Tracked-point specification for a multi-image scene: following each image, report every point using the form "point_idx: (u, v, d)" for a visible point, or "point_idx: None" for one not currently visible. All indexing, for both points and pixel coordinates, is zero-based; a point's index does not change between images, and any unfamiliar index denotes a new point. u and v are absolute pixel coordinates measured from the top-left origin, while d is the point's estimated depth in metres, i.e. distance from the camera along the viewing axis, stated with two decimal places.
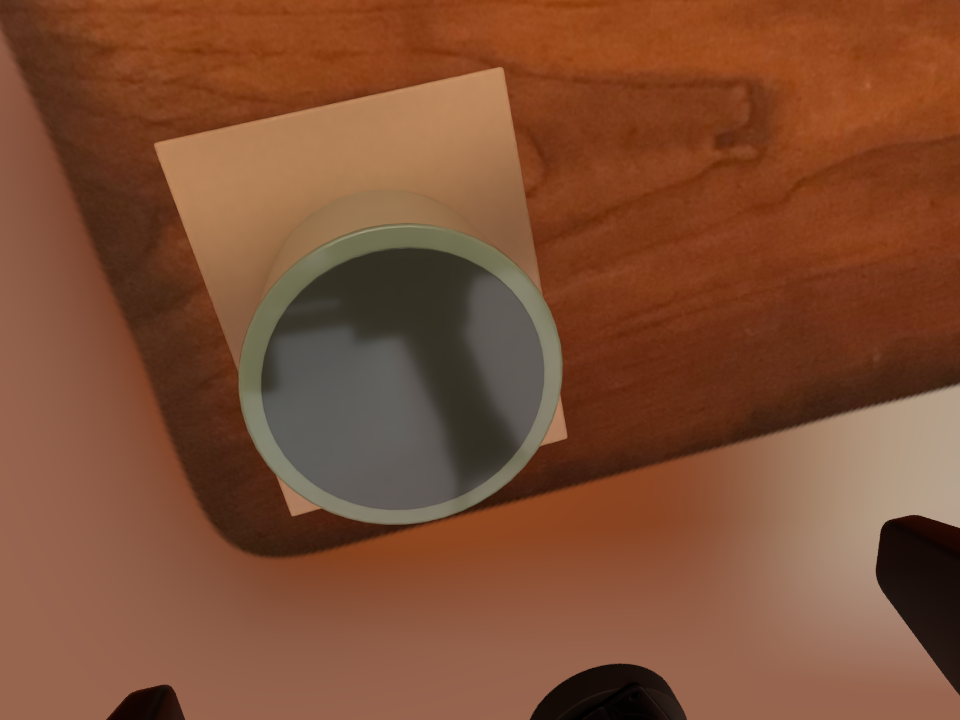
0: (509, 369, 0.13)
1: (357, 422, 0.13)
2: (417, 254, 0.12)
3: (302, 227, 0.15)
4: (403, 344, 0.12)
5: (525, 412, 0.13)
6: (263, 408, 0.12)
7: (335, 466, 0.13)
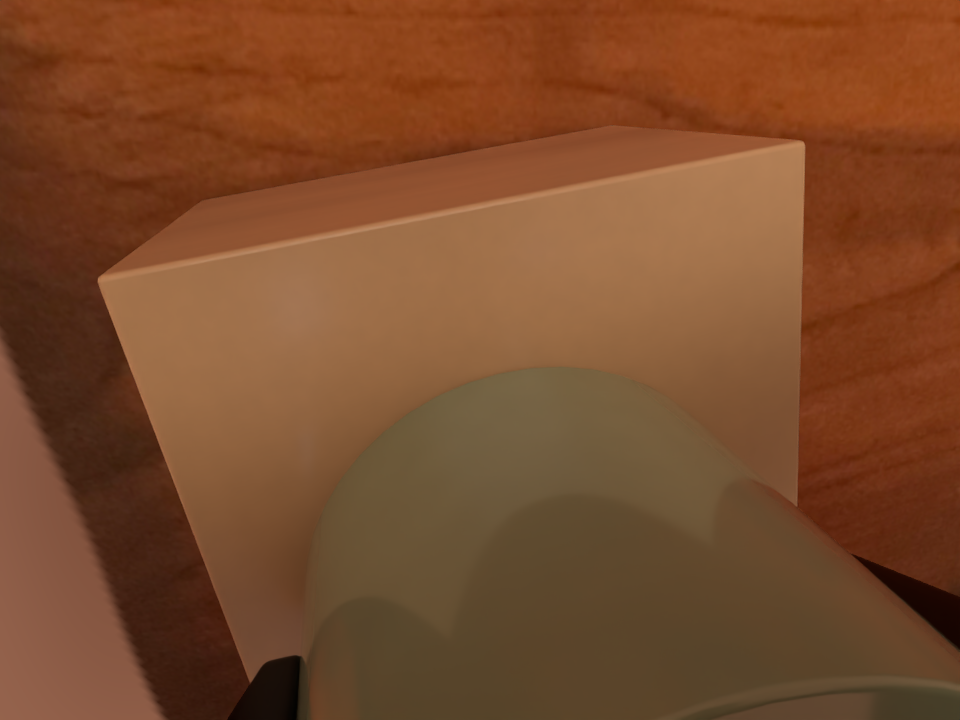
0: None
1: None
2: None
3: (405, 468, 0.07)
4: None
5: None
6: None
7: None
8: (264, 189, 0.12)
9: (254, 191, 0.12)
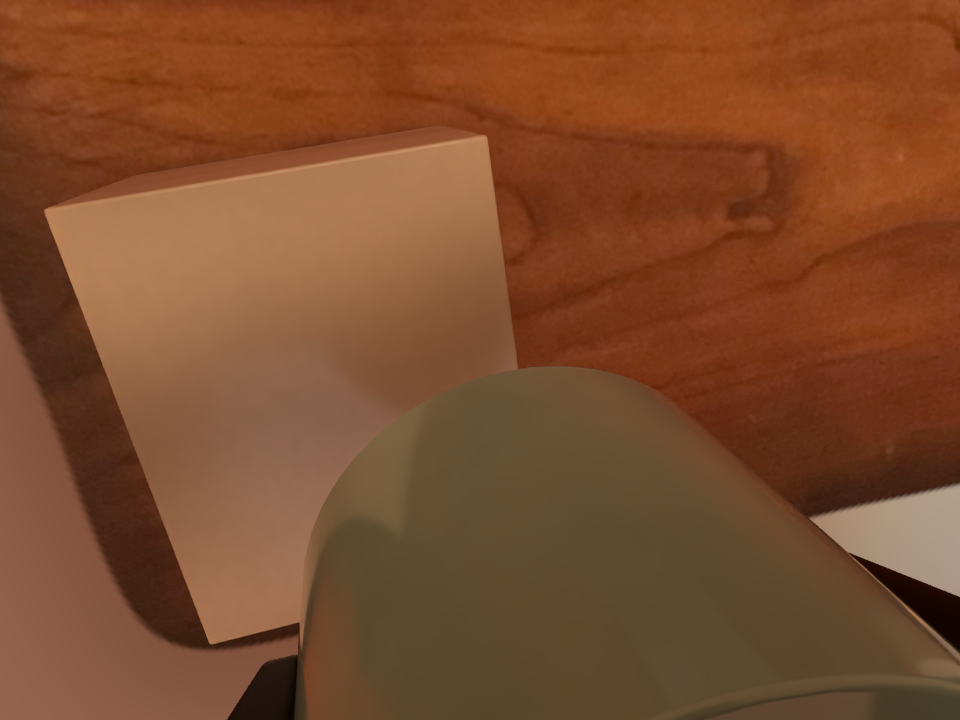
0: None
1: None
2: None
3: (403, 467, 0.07)
4: None
5: None
6: None
7: None
8: None
9: (173, 169, 0.17)
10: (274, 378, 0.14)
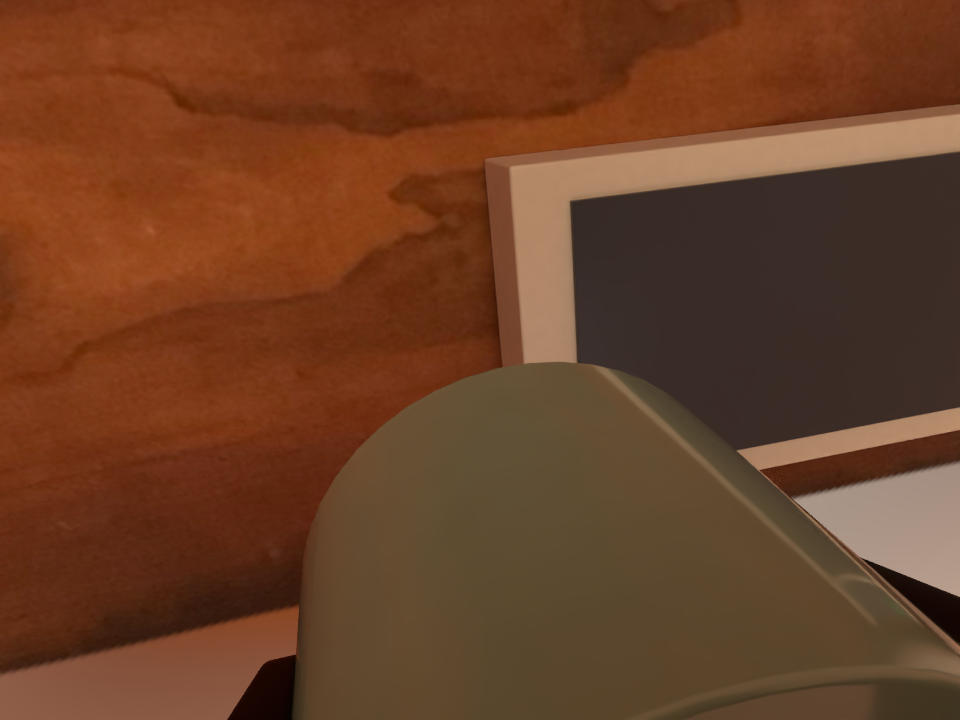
0: None
1: None
2: None
3: (401, 462, 0.07)
4: None
5: None
6: None
7: None
8: None
9: None
10: None
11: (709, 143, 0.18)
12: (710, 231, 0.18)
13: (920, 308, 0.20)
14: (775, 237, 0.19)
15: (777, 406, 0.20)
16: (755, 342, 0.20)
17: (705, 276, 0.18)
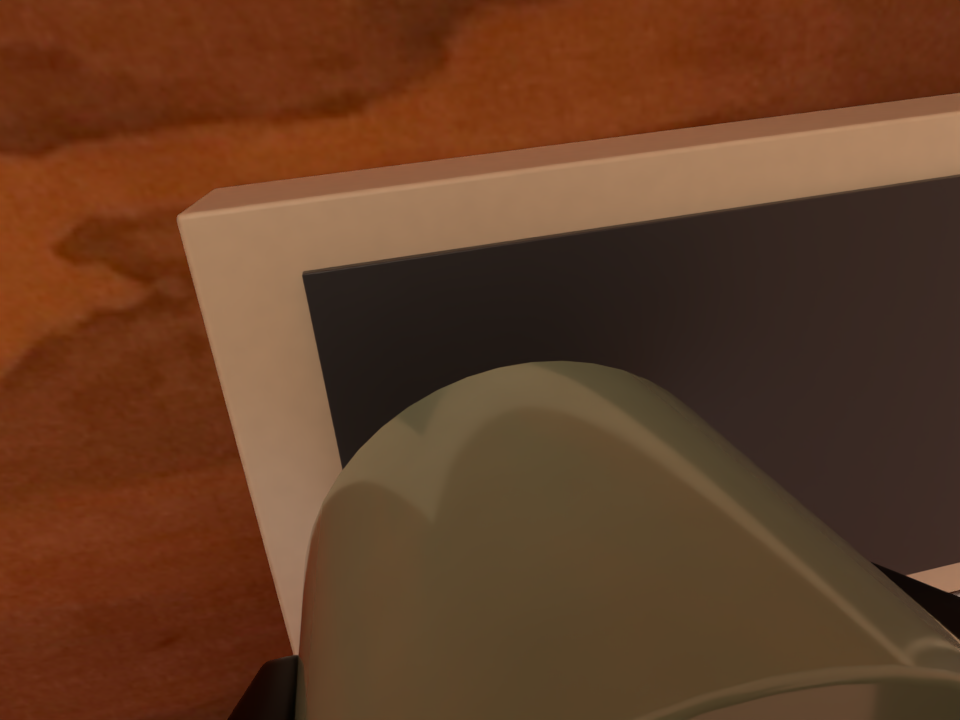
0: None
1: None
2: None
3: (404, 461, 0.07)
4: None
5: None
6: None
7: None
8: None
9: None
10: None
11: (554, 165, 0.10)
12: (565, 315, 0.11)
13: (928, 418, 0.13)
14: (681, 320, 0.11)
15: None
16: None
17: None
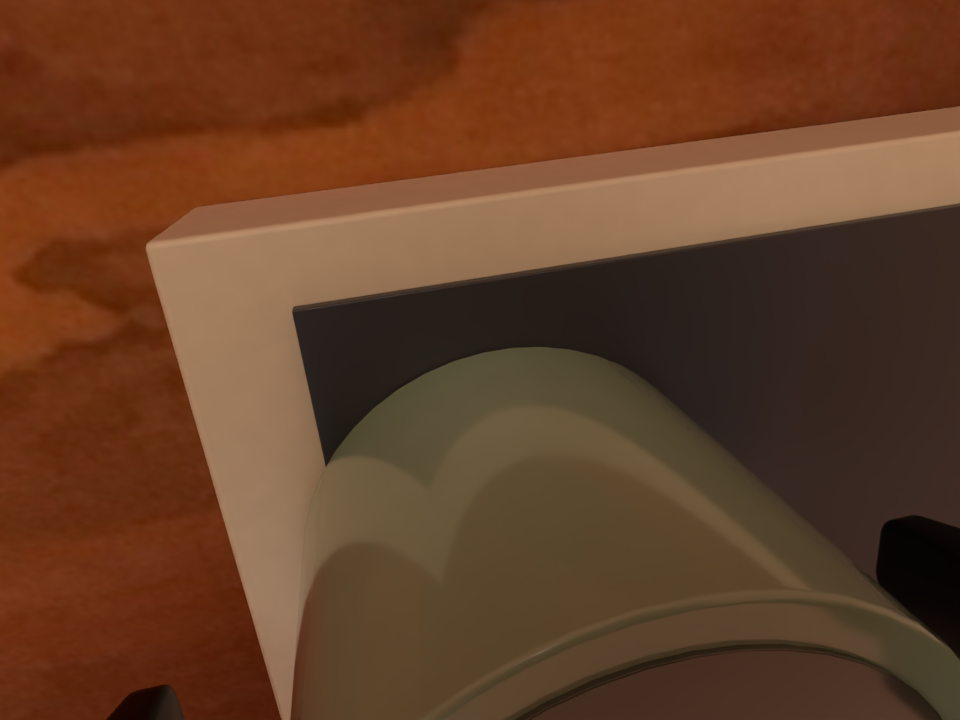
0: None
1: None
2: (752, 659, 0.05)
3: (394, 435, 0.08)
4: None
5: None
6: None
7: None
8: None
9: None
10: None
11: (582, 183, 0.09)
12: (593, 353, 0.09)
13: None
14: (724, 357, 0.10)
15: None
16: None
17: None
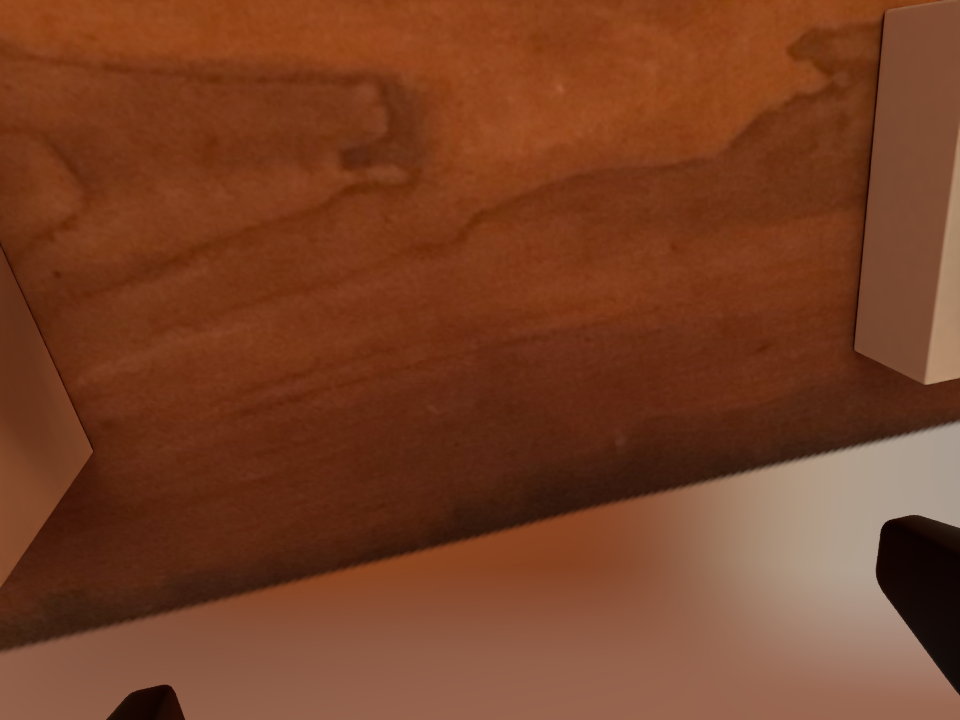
0: None
1: None
2: None
3: None
4: None
5: None
6: None
7: None
8: None
9: None
10: None
11: None
12: None
13: None
14: None
15: None
16: None
17: None
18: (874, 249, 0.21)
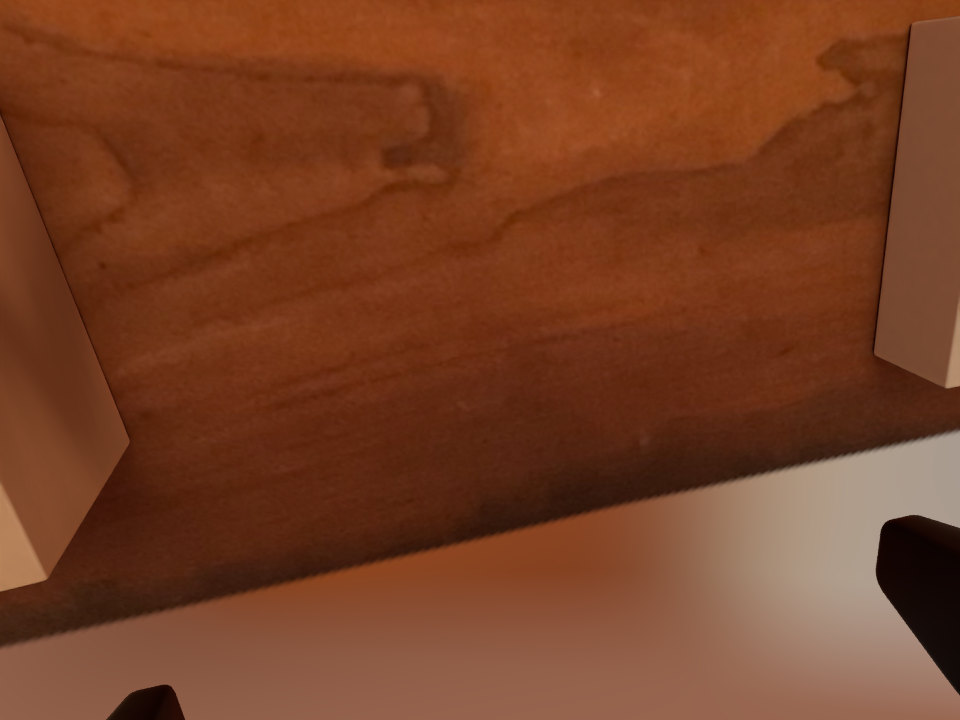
0: None
1: None
2: None
3: None
4: None
5: None
6: None
7: None
8: None
9: None
10: None
11: None
12: None
13: None
14: None
15: None
16: None
17: None
18: (896, 256, 0.21)
